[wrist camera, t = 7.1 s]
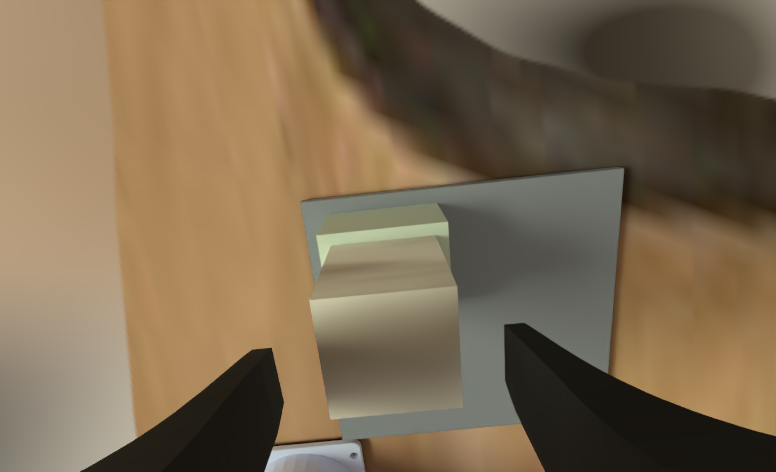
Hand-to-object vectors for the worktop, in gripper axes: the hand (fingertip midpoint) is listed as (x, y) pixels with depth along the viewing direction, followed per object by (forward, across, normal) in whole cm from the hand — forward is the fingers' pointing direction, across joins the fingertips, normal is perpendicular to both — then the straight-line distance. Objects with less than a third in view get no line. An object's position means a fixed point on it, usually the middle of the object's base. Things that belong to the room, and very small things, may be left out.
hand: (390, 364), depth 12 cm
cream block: (+5, 0, 0) cm, 5 cm away
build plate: (+9, -4, +4) cm, 11 cm away
